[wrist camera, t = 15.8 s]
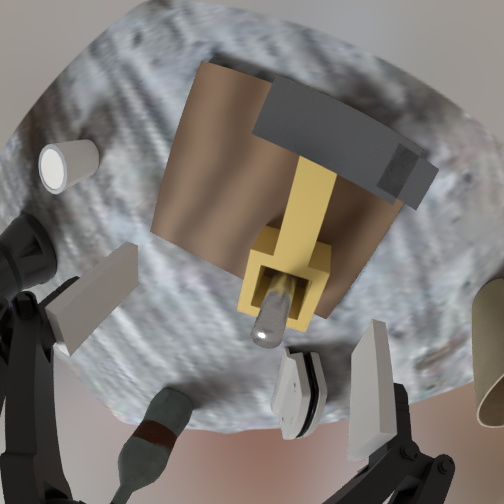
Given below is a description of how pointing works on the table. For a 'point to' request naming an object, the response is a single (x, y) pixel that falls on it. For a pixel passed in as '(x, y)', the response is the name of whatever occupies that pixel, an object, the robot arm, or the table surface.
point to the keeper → (344, 142)
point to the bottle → (152, 442)
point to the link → (294, 247)
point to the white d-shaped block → (299, 394)
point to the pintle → (274, 311)
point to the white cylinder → (67, 164)
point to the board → (252, 187)
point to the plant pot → (489, 353)
